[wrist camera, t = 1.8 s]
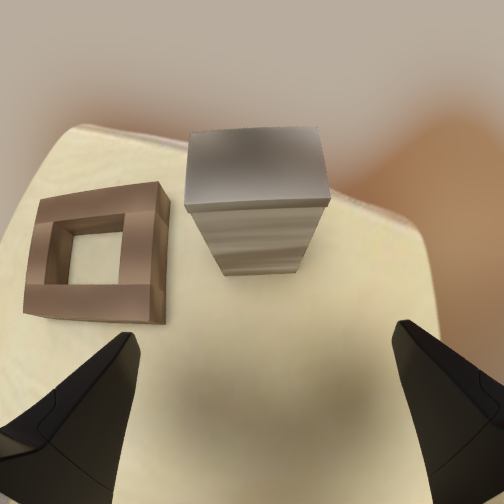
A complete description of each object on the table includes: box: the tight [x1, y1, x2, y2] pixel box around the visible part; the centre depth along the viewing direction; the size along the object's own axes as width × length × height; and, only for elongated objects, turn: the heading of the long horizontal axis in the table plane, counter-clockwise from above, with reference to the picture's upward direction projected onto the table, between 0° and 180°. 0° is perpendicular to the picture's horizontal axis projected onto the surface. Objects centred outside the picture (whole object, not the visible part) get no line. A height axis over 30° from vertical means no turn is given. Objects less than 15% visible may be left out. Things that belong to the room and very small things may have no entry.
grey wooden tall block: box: [184, 127, 331, 276], centre depth 17 cm, size 4×6×12 cm, turn 92°
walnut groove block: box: [23, 181, 170, 324], centre depth 22 cm, size 10×12×4 cm
